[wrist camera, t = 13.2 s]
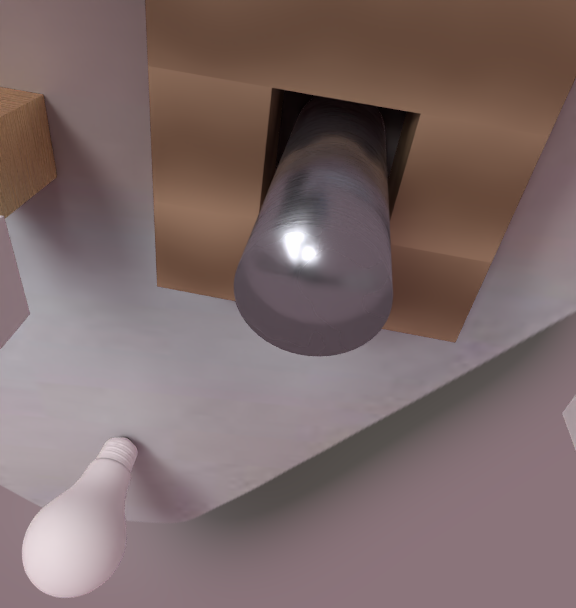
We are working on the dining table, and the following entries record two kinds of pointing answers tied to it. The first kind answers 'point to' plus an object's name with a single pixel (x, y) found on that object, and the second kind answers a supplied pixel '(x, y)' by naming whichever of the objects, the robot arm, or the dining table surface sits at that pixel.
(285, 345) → the cylinder
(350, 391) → the dining table surface
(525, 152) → the socket block
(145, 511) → the dining table surface
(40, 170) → the square bit
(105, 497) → the lightbulb
